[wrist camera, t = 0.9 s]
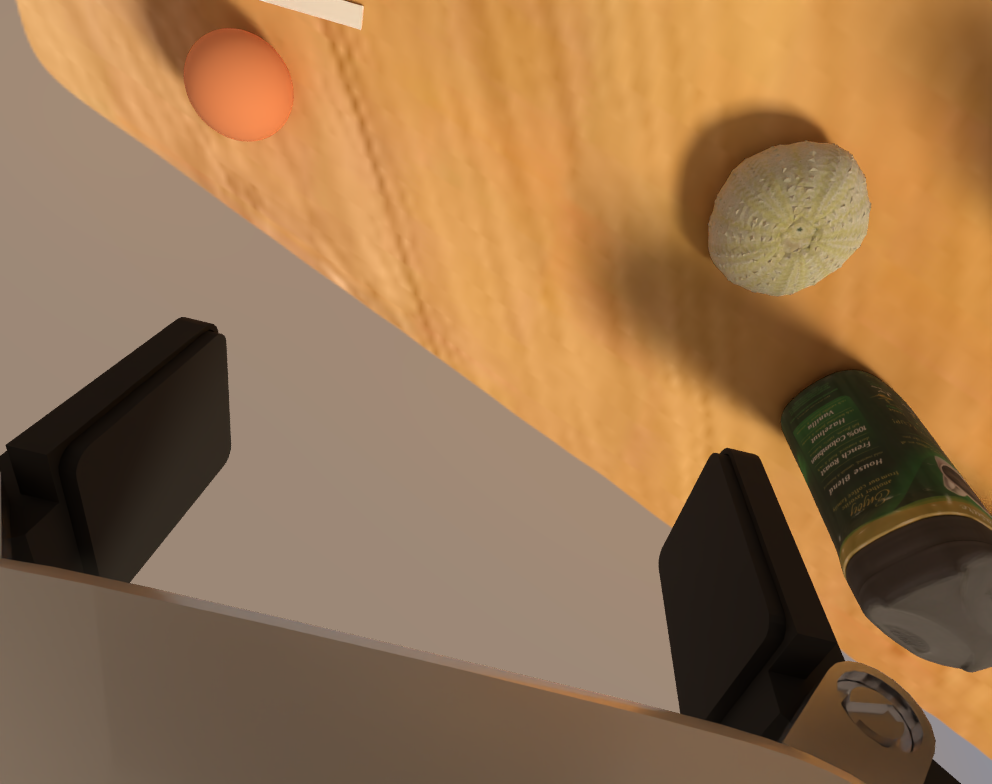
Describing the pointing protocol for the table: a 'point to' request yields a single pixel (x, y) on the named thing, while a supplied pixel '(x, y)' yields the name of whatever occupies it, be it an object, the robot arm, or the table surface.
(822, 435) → the coffee jar
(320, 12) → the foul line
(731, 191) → the sea urchin shell
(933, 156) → the table surface
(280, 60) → the ball
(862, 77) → the table surface
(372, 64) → the table surface
